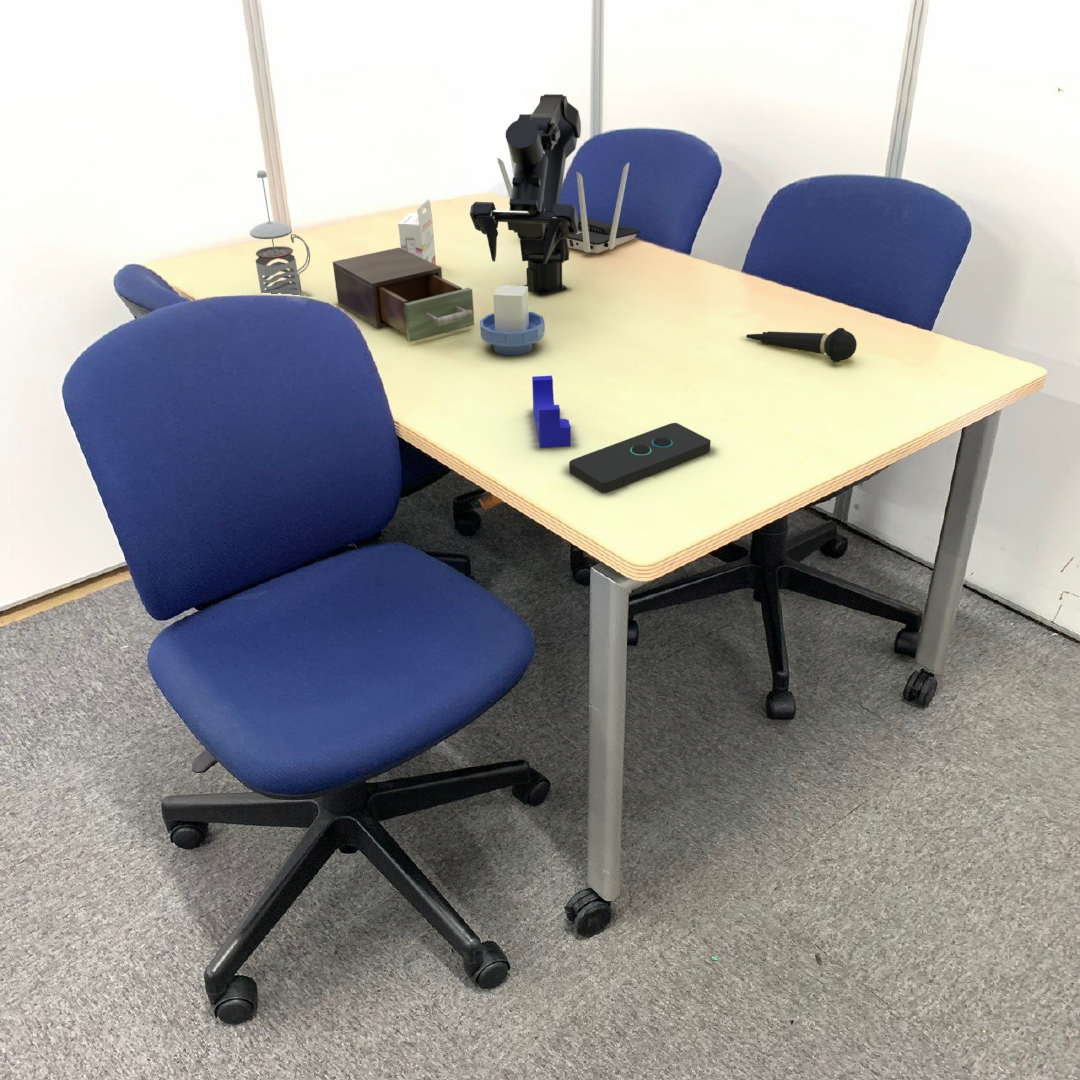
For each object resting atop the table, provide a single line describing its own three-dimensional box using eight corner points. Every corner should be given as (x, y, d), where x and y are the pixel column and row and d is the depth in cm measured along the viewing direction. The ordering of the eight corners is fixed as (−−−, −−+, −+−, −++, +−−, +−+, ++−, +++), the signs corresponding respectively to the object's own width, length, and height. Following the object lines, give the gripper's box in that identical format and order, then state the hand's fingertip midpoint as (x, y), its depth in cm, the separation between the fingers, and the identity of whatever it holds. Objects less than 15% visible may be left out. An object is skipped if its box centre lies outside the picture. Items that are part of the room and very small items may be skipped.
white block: (501, 324, 182) (499, 284, 178) (529, 325, 181) (527, 286, 177) (495, 334, 178) (493, 294, 174) (523, 336, 177) (522, 295, 173)
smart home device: (713, 440, 146) (604, 483, 136) (712, 451, 147) (604, 494, 137) (674, 420, 152) (566, 459, 142) (673, 430, 152) (566, 470, 143)
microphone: (742, 358, 183) (850, 370, 171) (737, 331, 179) (846, 342, 167) (756, 340, 185) (863, 351, 173) (751, 313, 182) (859, 322, 170)
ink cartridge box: (414, 266, 221) (408, 197, 214) (436, 267, 221) (431, 198, 213) (402, 279, 214) (395, 208, 206) (425, 280, 213) (419, 208, 206)
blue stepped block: (570, 446, 149) (570, 408, 146) (539, 447, 149) (538, 410, 146) (562, 410, 159) (561, 374, 156) (533, 412, 159) (532, 376, 156)
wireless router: (661, 243, 232) (665, 151, 221) (598, 269, 217) (599, 171, 206) (547, 219, 250) (546, 133, 240) (483, 241, 236) (478, 151, 225)
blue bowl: (521, 331, 188) (520, 305, 185) (557, 349, 180) (556, 323, 177) (469, 346, 182) (467, 319, 180) (504, 365, 175) (502, 338, 172)
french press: (253, 295, 208) (230, 168, 194) (309, 287, 211) (291, 161, 198) (261, 311, 200) (238, 179, 187) (320, 301, 204) (302, 171, 190)
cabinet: (444, 311, 198) (441, 267, 193) (377, 328, 191) (372, 283, 186) (403, 289, 209) (399, 247, 205) (338, 304, 202) (332, 261, 198)
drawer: (489, 333, 185) (487, 296, 181) (425, 350, 179) (421, 313, 175) (432, 302, 199) (429, 268, 196) (370, 317, 193) (366, 282, 189)
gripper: (585, 207, 189) (576, 284, 186) (487, 204, 193) (476, 280, 189) (579, 173, 179) (569, 255, 176) (475, 170, 182) (463, 251, 179)
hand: (518, 261), depth 180 cm, fingers open, 9 cm apart
